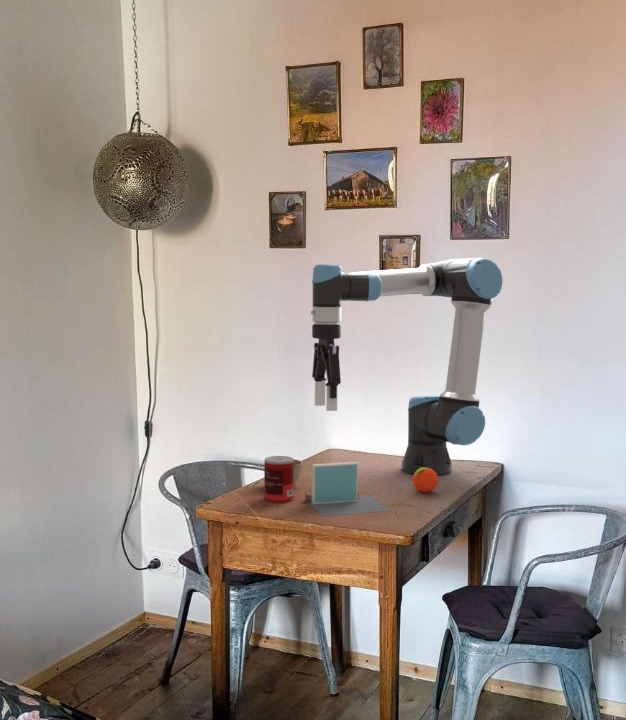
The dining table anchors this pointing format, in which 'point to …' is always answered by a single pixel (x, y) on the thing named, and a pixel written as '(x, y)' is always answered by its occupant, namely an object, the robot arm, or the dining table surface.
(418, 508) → the dining table surface
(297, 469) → the flower pot
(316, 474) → the tile
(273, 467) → the canned food
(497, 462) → the dining table surface
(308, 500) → the strip
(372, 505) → the mat
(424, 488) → the clementine
